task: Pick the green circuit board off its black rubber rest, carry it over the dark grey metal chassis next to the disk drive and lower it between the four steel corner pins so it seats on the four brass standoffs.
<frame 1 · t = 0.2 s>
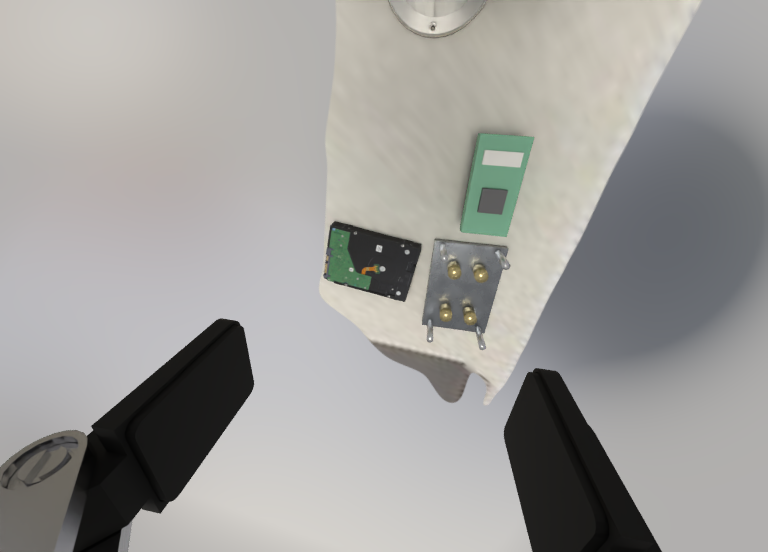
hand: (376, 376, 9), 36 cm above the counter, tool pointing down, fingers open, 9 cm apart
board: (491, 186, 36), point 3 cm above the counter, touching rest
disk drive: (372, 258, 48), on the counter
chassis: (460, 287, 47), on the counter
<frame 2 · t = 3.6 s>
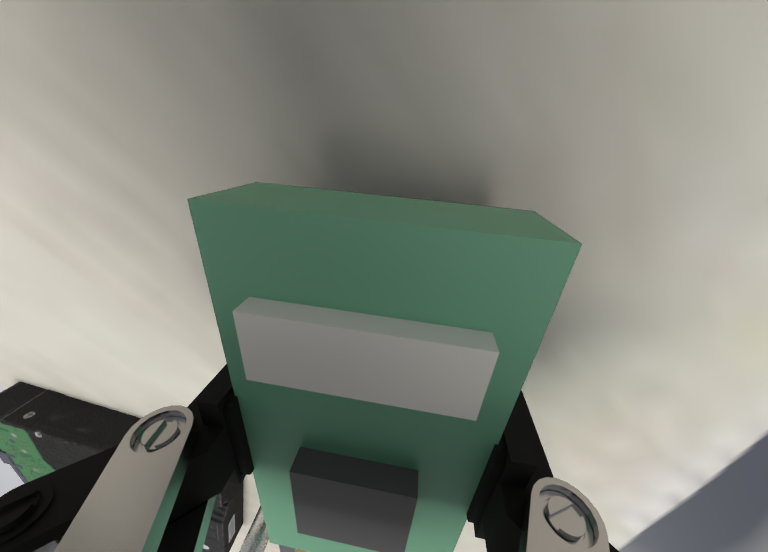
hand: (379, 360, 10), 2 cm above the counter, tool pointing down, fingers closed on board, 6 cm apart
board: (372, 392, 9), point 3 cm above the counter, touching gripper, rest
disk drive: (151, 450, 20), on the counter
chassis: (359, 530, 19), on the counter
when the fingers open (4 cm above the counter, at t = 8.3 s): board drops 2 cm, resting on chassis.
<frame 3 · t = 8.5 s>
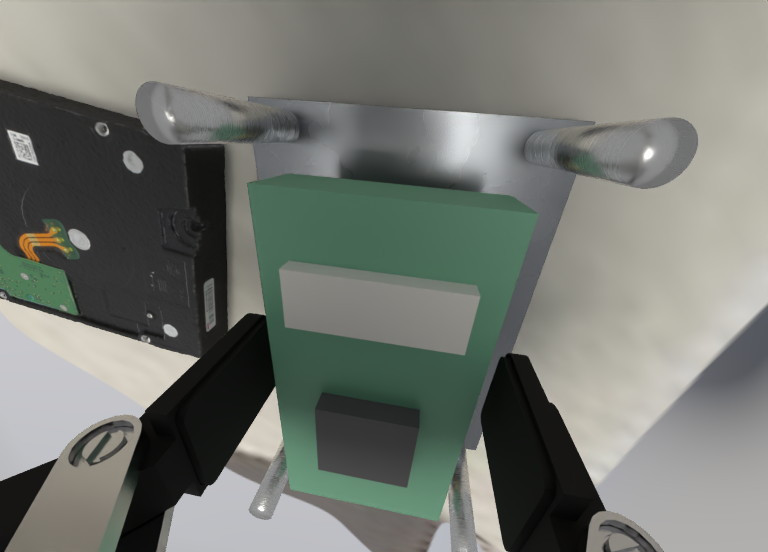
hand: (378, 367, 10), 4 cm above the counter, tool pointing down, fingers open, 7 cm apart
board: (380, 355, 10), point 3 cm above the counter, touching chassis
disk drive: (99, 210, 14), on the counter
chassis: (392, 305, 13), on the counter
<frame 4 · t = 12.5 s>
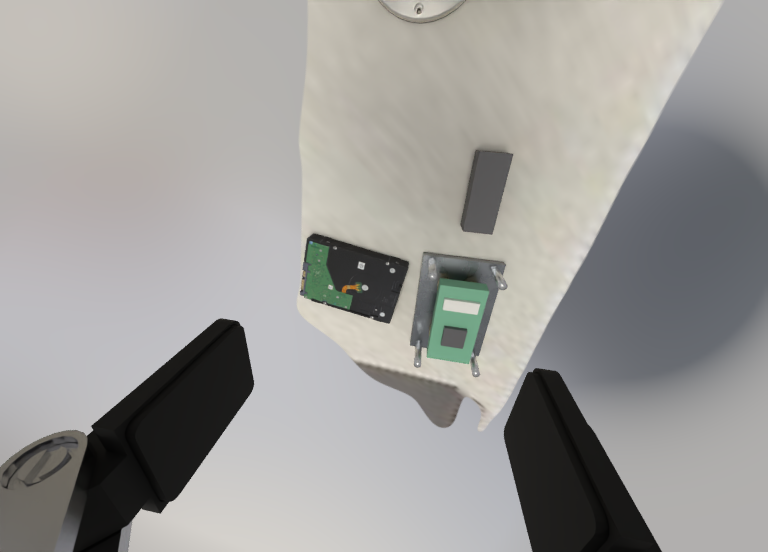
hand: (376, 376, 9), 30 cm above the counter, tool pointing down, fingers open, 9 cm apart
board: (454, 318, 39), point 3 cm above the counter, touching chassis
disk drive: (354, 275, 43), on the counter
rest: (482, 191, 34), on the counter
chassis: (452, 305, 42), on the counter
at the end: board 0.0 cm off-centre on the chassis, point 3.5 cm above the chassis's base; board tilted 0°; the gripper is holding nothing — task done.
